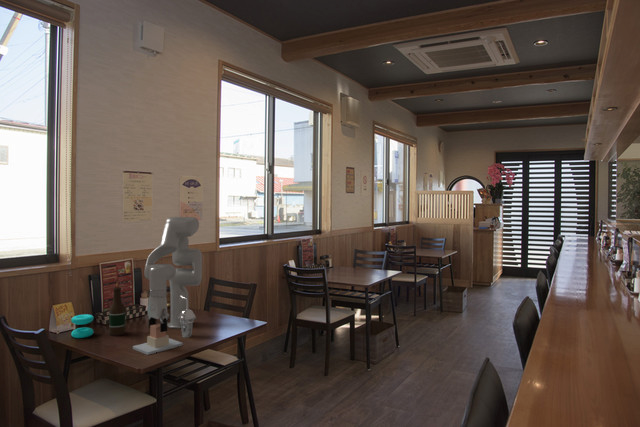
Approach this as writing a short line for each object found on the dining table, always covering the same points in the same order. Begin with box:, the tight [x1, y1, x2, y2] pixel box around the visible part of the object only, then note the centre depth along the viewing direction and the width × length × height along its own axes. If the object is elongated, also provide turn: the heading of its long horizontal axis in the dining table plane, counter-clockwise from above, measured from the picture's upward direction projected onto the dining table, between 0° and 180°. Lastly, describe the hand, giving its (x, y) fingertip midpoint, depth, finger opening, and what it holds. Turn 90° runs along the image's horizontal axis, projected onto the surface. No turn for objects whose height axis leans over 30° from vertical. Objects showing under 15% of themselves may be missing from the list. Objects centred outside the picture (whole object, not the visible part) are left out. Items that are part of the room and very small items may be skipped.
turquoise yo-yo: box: [71, 313, 95, 339], centre depth 230 cm, size 10×10×10 cm
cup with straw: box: [178, 296, 196, 339], centre depth 230 cm, size 8×9×20 cm
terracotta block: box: [149, 323, 167, 338], centre depth 213 cm, size 5×5×5 cm
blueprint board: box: [132, 334, 184, 356], centre depth 213 cm, size 18×13×5 cm
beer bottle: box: [108, 286, 127, 337], centre depth 233 cm, size 8×8×24 cm
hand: (158, 329), depth 213 cm, fingers open, 9 cm apart
